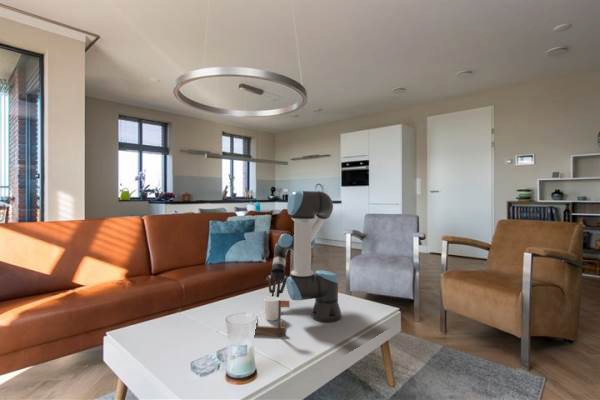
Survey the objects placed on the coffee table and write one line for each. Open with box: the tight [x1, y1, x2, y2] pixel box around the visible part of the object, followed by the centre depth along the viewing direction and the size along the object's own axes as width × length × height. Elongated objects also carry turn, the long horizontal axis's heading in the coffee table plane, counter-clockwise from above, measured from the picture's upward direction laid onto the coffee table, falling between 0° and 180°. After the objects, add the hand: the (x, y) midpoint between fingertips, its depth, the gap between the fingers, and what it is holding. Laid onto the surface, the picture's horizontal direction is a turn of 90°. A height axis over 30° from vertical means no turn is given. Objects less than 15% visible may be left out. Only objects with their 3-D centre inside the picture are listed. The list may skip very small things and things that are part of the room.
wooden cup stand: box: [254, 299, 290, 338], centre depth 149 cm, size 12×20×16 cm, turn 86°
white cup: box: [263, 295, 281, 322], centre depth 164 cm, size 8×8×10 cm
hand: (274, 304), depth 172 cm, fingers closed
